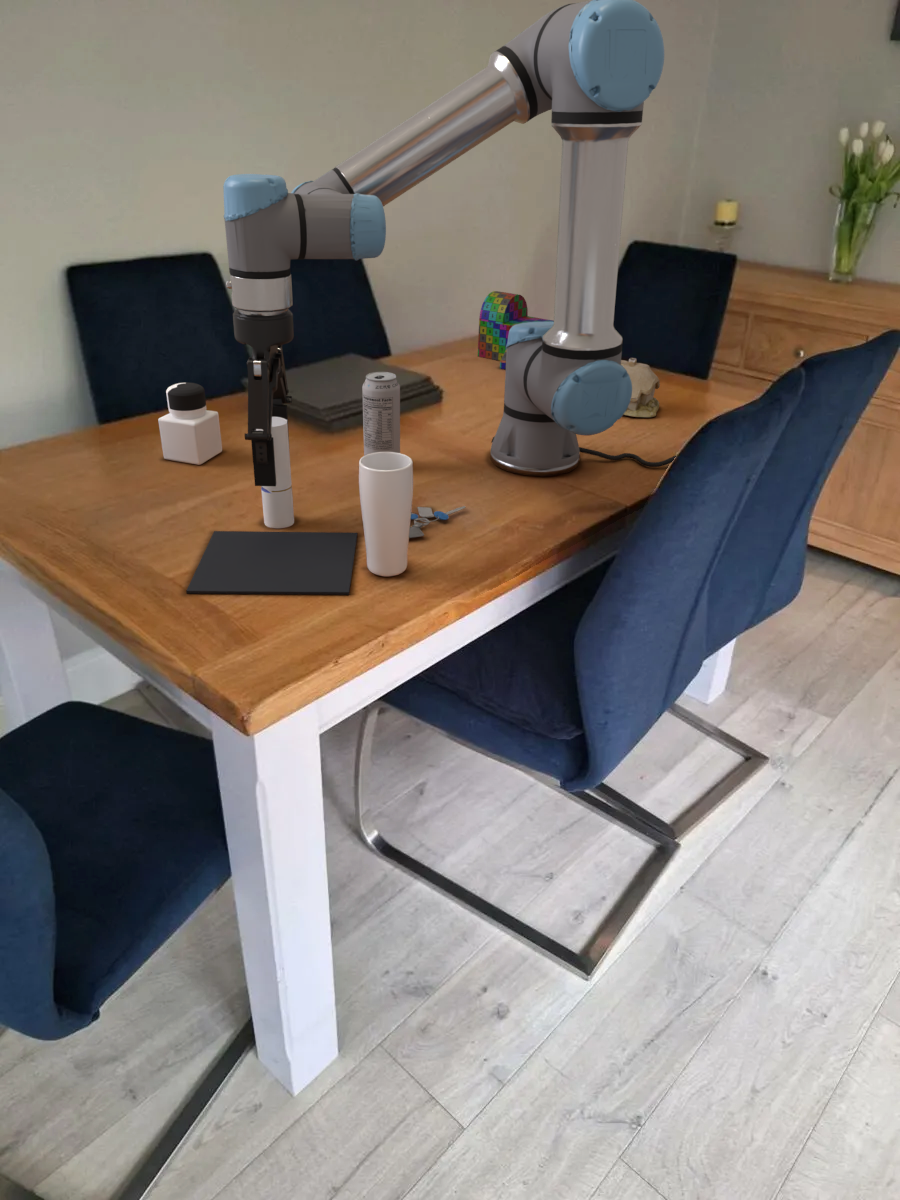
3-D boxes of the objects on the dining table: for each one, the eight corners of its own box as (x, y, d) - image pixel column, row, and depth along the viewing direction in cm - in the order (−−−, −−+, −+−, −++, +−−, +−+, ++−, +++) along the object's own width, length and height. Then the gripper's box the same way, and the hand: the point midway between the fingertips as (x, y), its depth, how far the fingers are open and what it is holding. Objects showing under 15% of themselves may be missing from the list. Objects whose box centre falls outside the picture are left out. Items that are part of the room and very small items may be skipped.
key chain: (414, 544, 121) (414, 539, 121) (366, 529, 125) (366, 524, 124) (466, 510, 131) (466, 505, 131) (420, 497, 135) (420, 492, 135)
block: (465, 361, 205) (467, 298, 198) (503, 347, 217) (506, 287, 210) (559, 380, 193) (564, 314, 186) (593, 364, 205) (600, 302, 198)
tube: (297, 516, 128) (290, 417, 121) (290, 529, 124) (282, 427, 117) (268, 515, 128) (260, 415, 121) (260, 527, 125) (251, 425, 117)
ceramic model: (668, 407, 178) (676, 358, 173) (648, 422, 170) (655, 370, 165) (604, 394, 185) (610, 347, 180) (582, 408, 176) (587, 358, 171)
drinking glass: (361, 557, 118) (358, 451, 110) (411, 556, 118) (412, 450, 111) (361, 581, 112) (357, 471, 104) (414, 580, 112) (414, 470, 105)
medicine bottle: (223, 451, 150) (215, 382, 144) (200, 465, 144) (191, 394, 138) (187, 445, 152) (178, 377, 146) (163, 459, 146) (152, 388, 140)
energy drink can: (406, 462, 148) (406, 374, 141) (389, 473, 143) (388, 383, 136) (375, 455, 150) (373, 368, 143) (357, 467, 146) (355, 377, 138)
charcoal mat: (357, 535, 123) (357, 532, 123) (349, 595, 109) (349, 592, 109) (214, 533, 123) (214, 530, 122) (186, 593, 108) (186, 590, 108)
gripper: (249, 289, 122) (260, 435, 133) (212, 331, 100) (229, 501, 111) (303, 291, 122) (309, 436, 133) (278, 333, 101) (288, 502, 111)
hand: (273, 466), depth 122 cm, fingers open, 13 cm apart
